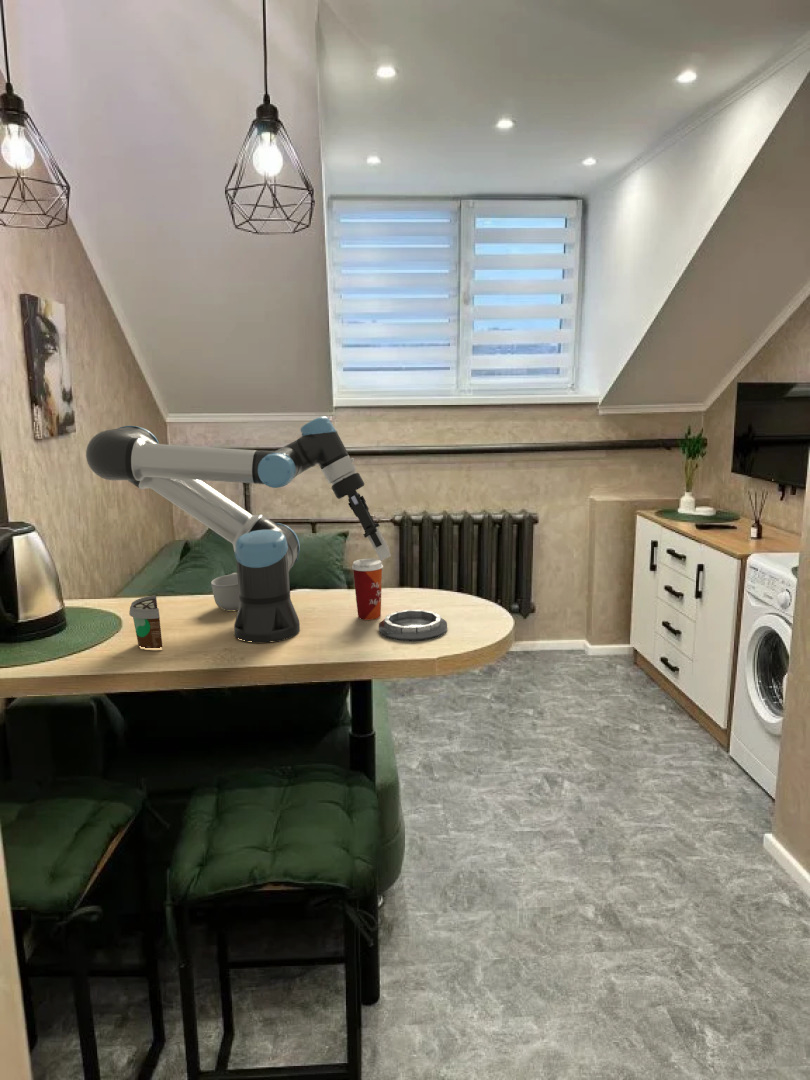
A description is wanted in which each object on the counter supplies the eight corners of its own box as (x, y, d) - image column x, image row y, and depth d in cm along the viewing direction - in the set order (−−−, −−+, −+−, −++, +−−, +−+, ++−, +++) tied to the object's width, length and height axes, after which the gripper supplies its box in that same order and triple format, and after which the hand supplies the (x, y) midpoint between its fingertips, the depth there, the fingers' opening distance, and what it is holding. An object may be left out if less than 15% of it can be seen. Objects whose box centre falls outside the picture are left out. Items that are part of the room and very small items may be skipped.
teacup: (250, 613, 191) (248, 583, 190) (208, 614, 192) (205, 584, 190) (262, 597, 205) (260, 569, 203) (222, 598, 205) (220, 570, 203)
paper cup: (381, 621, 182) (379, 565, 179) (350, 621, 183) (348, 565, 180) (387, 611, 190) (385, 557, 187) (357, 611, 191) (355, 557, 188)
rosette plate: (373, 640, 169) (372, 629, 169) (384, 617, 185) (384, 607, 184) (444, 642, 167) (444, 630, 167) (449, 618, 183) (449, 608, 182)
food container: (132, 639, 175) (127, 597, 173) (160, 635, 177) (155, 594, 175) (133, 656, 164) (128, 612, 162) (163, 652, 166) (158, 609, 164)
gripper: (356, 470, 169) (400, 553, 171) (358, 471, 193) (397, 543, 195) (326, 486, 169) (371, 568, 171) (333, 485, 193) (372, 557, 195)
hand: (385, 555), depth 183 cm, fingers open, 13 cm apart
